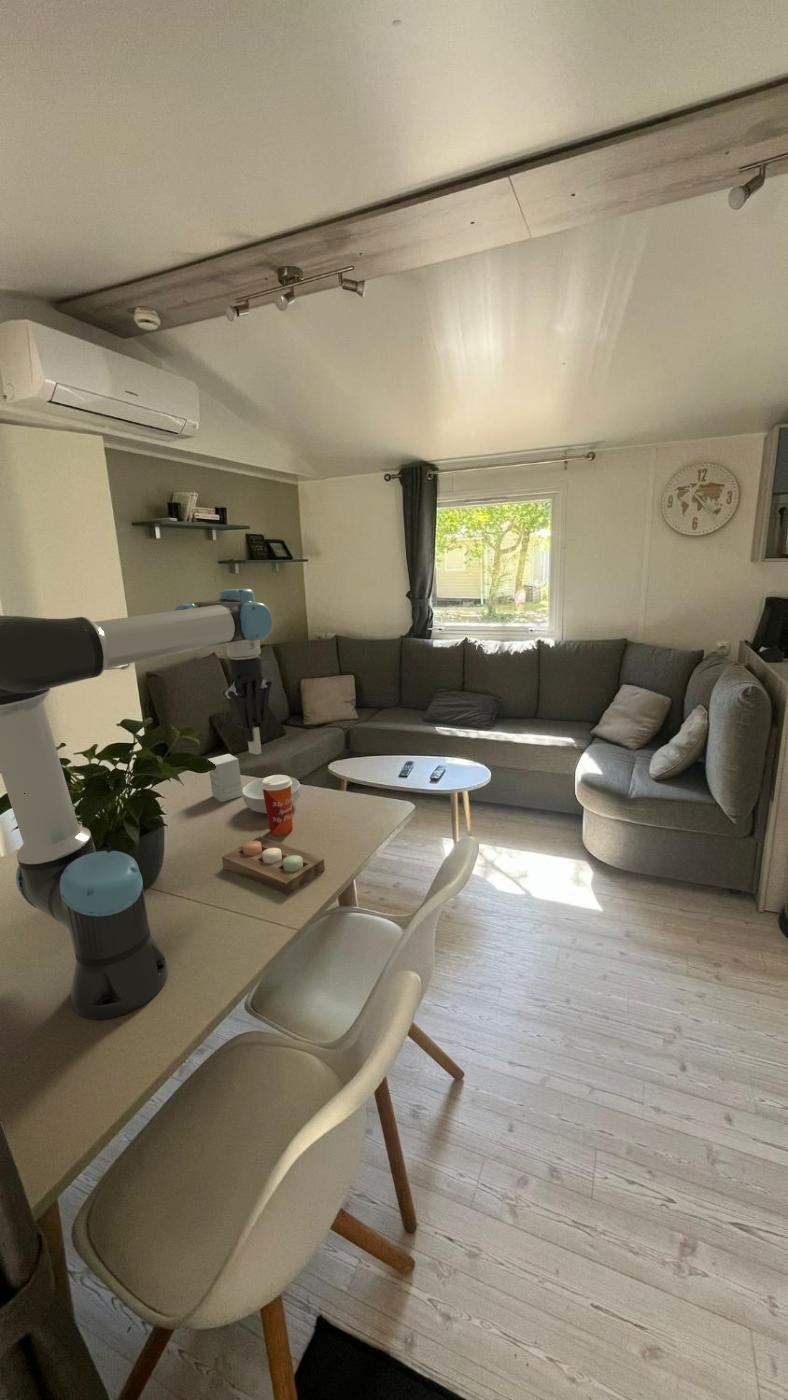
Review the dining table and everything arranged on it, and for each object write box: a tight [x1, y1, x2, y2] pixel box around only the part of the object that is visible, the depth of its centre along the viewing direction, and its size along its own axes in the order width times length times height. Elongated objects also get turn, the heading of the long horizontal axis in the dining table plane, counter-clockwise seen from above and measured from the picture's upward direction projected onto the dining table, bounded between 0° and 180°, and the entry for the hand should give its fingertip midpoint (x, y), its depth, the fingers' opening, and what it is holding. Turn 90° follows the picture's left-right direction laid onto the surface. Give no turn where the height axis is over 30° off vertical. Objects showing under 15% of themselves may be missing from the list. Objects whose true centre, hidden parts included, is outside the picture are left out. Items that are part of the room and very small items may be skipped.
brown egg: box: [242, 840, 262, 857], centre depth 137 cm, size 4×4×4 cm
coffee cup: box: [261, 774, 293, 837], centre depth 151 cm, size 8×8×15 cm
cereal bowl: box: [242, 776, 301, 815], centre depth 167 cm, size 17×17×7 cm
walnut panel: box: [221, 836, 326, 896], centre depth 134 cm, size 12×22×3 cm, turn 54°
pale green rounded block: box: [283, 855, 303, 874], centre depth 129 cm, size 4×4×4 cm
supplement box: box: [207, 753, 243, 803], centre depth 177 cm, size 7×7×13 cm
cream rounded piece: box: [262, 848, 282, 865], centre depth 133 cm, size 4×4×4 cm
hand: (255, 752), depth 136 cm, fingers closed
